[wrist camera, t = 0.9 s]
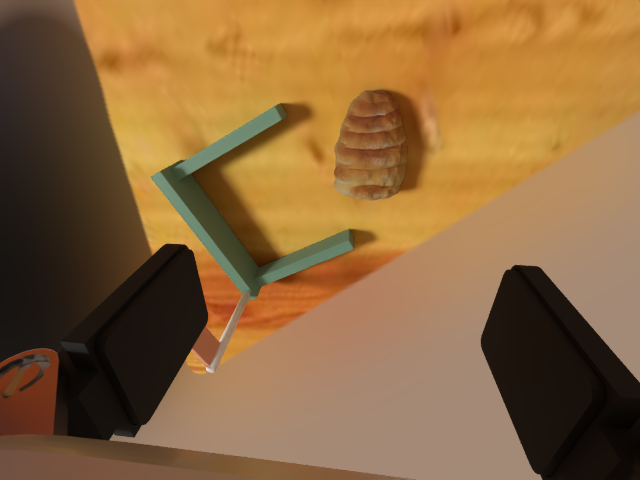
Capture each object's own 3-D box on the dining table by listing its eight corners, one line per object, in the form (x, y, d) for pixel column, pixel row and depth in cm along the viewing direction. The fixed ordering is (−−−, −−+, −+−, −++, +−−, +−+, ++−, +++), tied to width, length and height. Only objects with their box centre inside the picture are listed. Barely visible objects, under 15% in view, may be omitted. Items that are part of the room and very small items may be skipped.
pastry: (335, 89, 28) (332, 93, 24) (413, 88, 27) (421, 91, 24) (334, 190, 32) (332, 204, 29) (401, 191, 32) (407, 206, 28)
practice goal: (279, 99, 28) (221, 125, 16) (355, 239, 34) (355, 334, 22) (172, 165, 32) (62, 224, 20) (257, 279, 39) (212, 378, 26)
